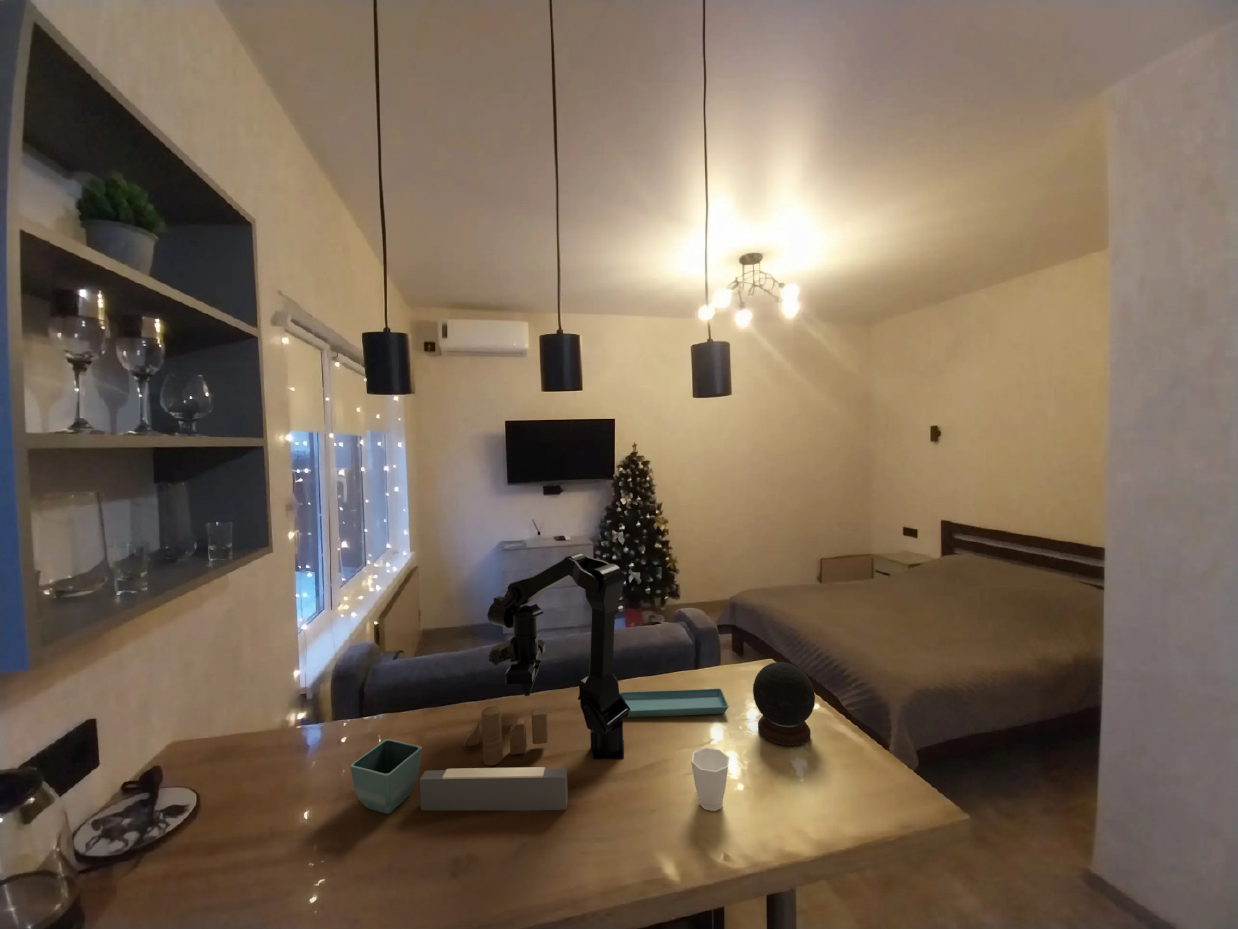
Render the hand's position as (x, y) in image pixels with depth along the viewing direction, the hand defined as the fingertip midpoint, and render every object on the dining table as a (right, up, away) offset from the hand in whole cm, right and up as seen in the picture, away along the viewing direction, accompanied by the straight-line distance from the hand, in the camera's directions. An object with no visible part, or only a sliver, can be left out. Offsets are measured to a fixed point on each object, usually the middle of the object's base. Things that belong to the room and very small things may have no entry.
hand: (527, 695), depth 120 cm
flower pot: (-20, -7, -28) cm, 36 cm away
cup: (+39, -6, -29) cm, 48 cm away
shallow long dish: (+35, -5, +3) cm, 36 cm away
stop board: (0, -6, -30) cm, 31 cm away
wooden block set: (-2, -6, -15) cm, 16 cm away
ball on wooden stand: (+59, -4, -9) cm, 60 cm away
